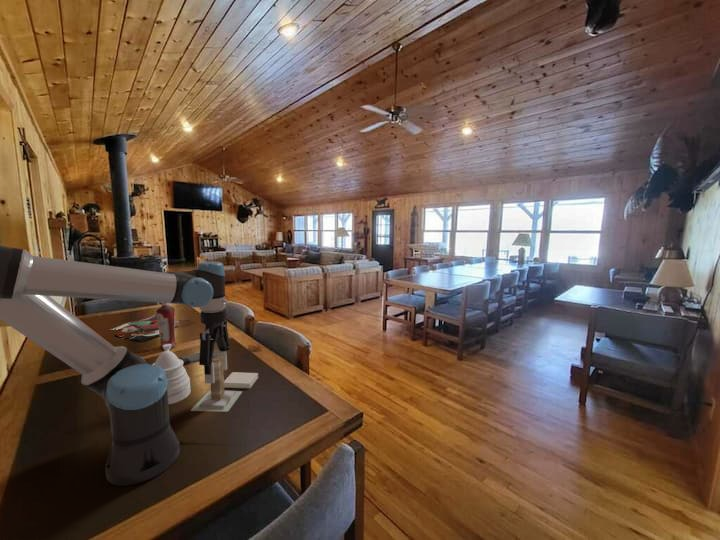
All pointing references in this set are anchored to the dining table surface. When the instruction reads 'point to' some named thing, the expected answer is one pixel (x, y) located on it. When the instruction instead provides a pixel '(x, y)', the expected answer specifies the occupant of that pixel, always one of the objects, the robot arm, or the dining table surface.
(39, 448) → the dining table surface
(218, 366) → the wooden handled stamp
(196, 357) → the cleaver
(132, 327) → the multicoloured flat piece
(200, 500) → the dining table surface
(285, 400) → the dining table surface
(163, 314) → the dark red glass bottle
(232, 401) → the mat
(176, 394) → the honey pot
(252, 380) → the tile
